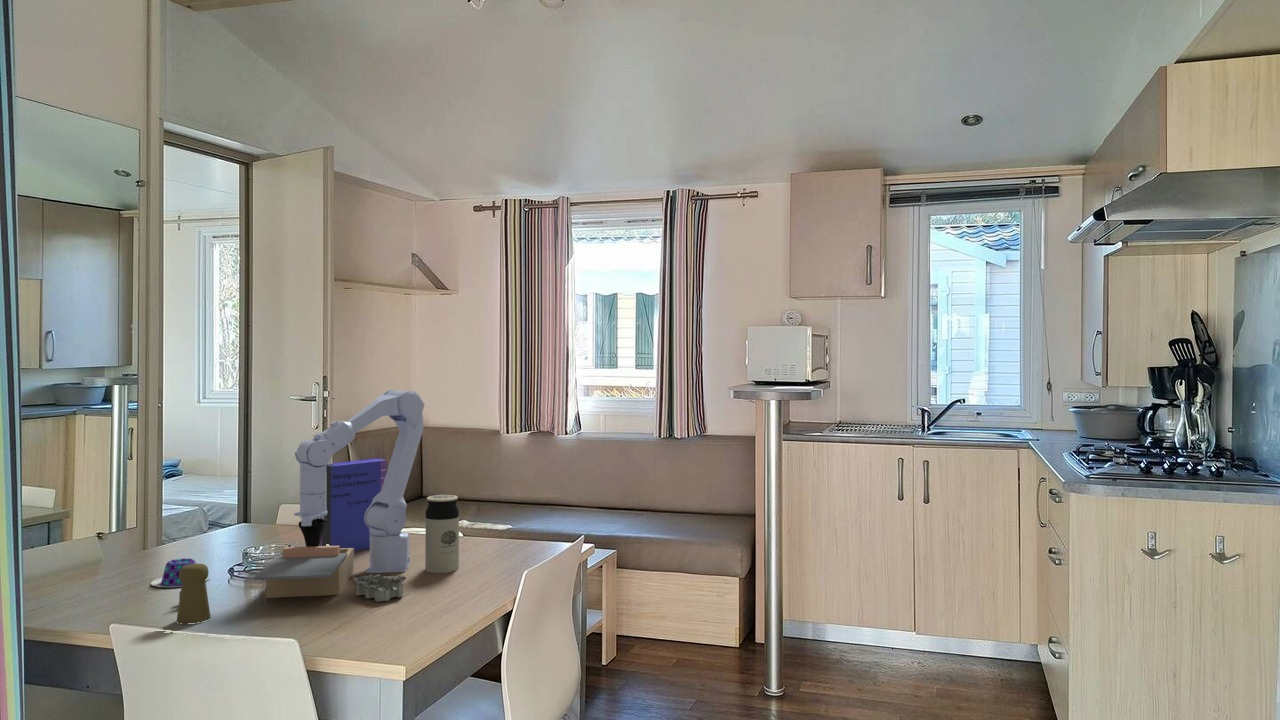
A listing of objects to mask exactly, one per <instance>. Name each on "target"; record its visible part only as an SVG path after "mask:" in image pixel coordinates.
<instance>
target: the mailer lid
mask: <svg viewBox="0 0 1280 720" xmlns="http://www.w3.org/2000/svg"><path fill="white" fill-rule="evenodd" d="M346 557H347V553H340V546H311V547H306V546H289V547H287V546H285V547H283V548H282V554H278V555H277V556H276V557H275V558H274V559H273V560H272V561H270V562H269V563H268V564H267V565H266V566H264V568H262V570H261V571H259V573H257V574H256V575H255V576H254V577H253V581H266V580H274V579H302V578H329V577H331V576H332V575H333V574H334V572H335V571H336V570H337V568H338V567H339V566H340V564H341V563H342V562H343V560H344V559H345V558H346Z"/></svg>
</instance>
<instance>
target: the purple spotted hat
mask: <svg viewBox="0 0 1280 720" xmlns="http://www.w3.org/2000/svg"><path fill="white" fill-rule="evenodd" d="M196 563H197V562H196V560H195V559H193V558H177V559H176V558H175V559H172V560H169V561H167V562H166V564H165V567H164V571H163V575H162V577H159V578H157V579H154V580H153V581H151V582H150V585H151V586H153V587H158V588H164V587H167V588H168V589H169V588H170V589H171V588H181V587H182V582H181V581H180V578H179V571H180V569H181V568H182V567H183V566H185V565H189V564H196ZM210 578H211V577H210V576H209V575H208V577H207V579H206V580H205V582H207V581H208V580H209V579H210Z"/></svg>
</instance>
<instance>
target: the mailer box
mask: <svg viewBox="0 0 1280 720" xmlns="http://www.w3.org/2000/svg"><path fill="white" fill-rule="evenodd" d="M340 553H347V557H346V558H345V559H344V560H343V562H342V563H341V564H340V566H339V567H338V568H337V570H336V571H335V572H334V574H333V575H332V576H331V577H329V578H302V579H274V580H265V583H266V584H265V589H266V590H265V598H267V599H271V598H292V597H313V596H316V597H318V596H331V595H332V596H338V595H340V593H341V592H342V591H343V589H344V587H345V586H346V584H347V583H348V582H349V579H350V578H351V577H352V575H353V574H354V572H355V551H354V548H340Z"/></svg>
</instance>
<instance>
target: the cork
mask: <svg viewBox="0 0 1280 720" xmlns="http://www.w3.org/2000/svg"><path fill="white" fill-rule="evenodd" d="M208 576H209V567H208V566H207V565H206V564H204V563H197V562H196V564H189V565H185V566H183V567H182V568H181V569H180V571H179V578H180V581H181V582H182V587H180V588H181V589H180V591H181V594H180V600H179V601H178V608H177V614H176V621H177V622H178V623H182V624H188V623H197V622H202V621H205V620H208V619H210V618H211V611H210V605H209V597H208V596H209V595H208V589H207V584H206V582H207V580H206V579H207V577H208ZM205 580H206V581H205ZM210 620H211V619H210ZM208 621H209V620H208ZM177 622H176V623H177Z"/></svg>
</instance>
